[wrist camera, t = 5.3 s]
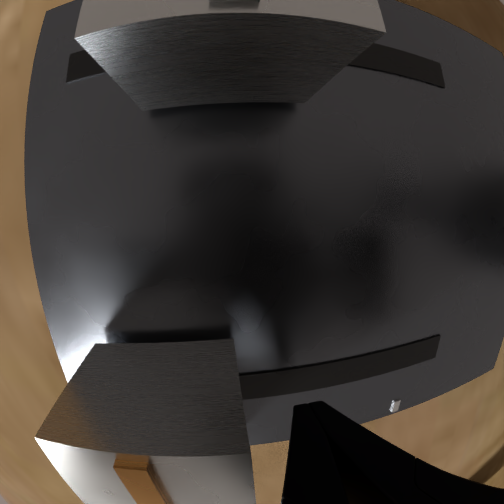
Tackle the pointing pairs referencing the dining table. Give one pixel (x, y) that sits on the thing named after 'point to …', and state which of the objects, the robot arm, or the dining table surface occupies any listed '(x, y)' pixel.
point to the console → (281, 221)
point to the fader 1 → (225, 47)
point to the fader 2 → (153, 426)
